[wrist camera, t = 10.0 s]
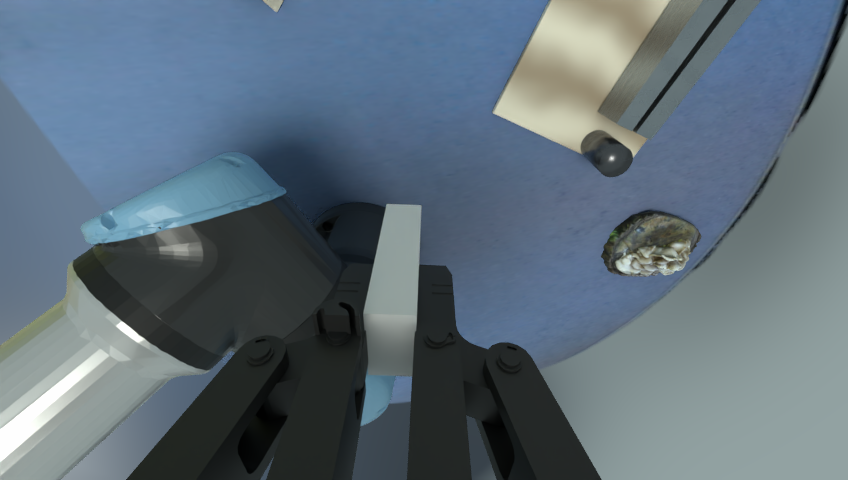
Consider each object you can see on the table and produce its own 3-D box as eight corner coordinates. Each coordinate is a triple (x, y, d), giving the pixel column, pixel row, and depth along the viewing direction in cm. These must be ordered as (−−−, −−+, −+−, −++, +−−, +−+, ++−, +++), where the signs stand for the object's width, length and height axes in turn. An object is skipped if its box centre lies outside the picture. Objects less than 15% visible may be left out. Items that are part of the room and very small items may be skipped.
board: (618, 169, 42) (621, 172, 41) (492, 111, 39) (493, 113, 38) (800, -66, 30) (808, -68, 30) (642, -180, 27) (647, -185, 26)
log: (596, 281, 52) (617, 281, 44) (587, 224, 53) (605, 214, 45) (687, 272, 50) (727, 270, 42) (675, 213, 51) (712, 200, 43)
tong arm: (612, 118, 38) (633, 132, 34) (596, 111, 38) (615, 123, 34) (759, -94, 29) (810, -109, 25) (740, -107, 28) (789, -124, 24)
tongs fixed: (602, 164, 41) (622, 183, 37) (574, 151, 40) (592, 169, 36) (780, -76, 29) (841, -90, 25) (746, -101, 29) (802, -120, 24)
